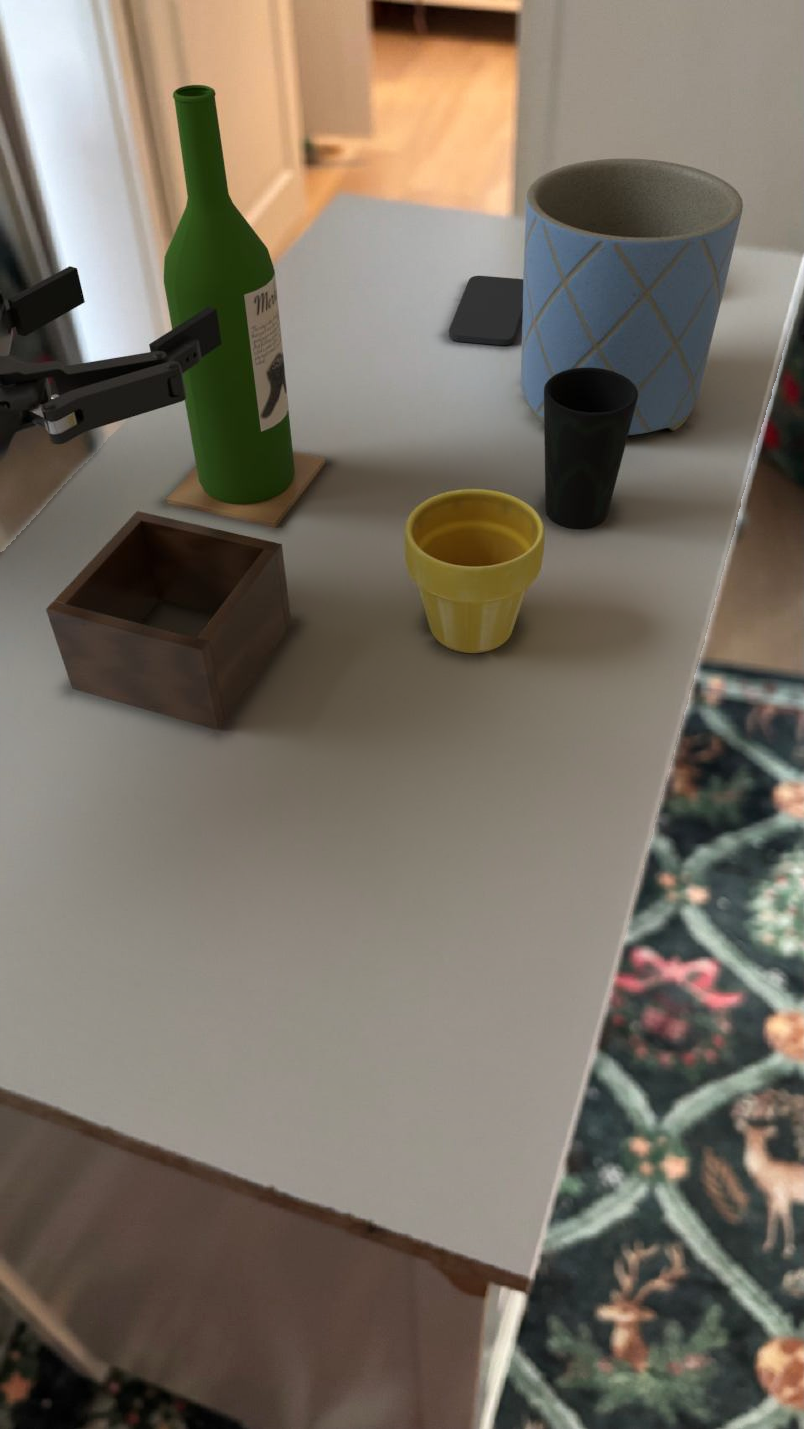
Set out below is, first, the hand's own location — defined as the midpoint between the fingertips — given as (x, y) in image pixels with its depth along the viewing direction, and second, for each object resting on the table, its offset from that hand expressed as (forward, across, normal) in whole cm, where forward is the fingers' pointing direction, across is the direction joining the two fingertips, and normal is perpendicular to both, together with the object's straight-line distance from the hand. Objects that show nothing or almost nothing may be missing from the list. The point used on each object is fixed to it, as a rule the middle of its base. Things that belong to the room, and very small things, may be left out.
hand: (144, 304), depth 81 cm
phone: (+50, +4, -21) cm, 54 cm away
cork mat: (+8, 0, -21) cm, 22 cm away
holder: (-13, +10, -21) cm, 27 cm away
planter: (+39, +23, -21) cm, 50 cm away
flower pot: (+1, +28, -21) cm, 35 cm away
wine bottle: (+8, 0, -20) cm, 22 cm away
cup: (+20, +29, -21) cm, 41 cm away
